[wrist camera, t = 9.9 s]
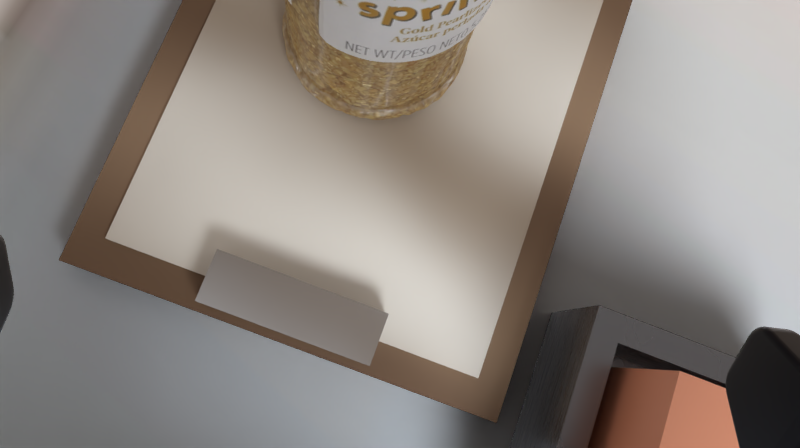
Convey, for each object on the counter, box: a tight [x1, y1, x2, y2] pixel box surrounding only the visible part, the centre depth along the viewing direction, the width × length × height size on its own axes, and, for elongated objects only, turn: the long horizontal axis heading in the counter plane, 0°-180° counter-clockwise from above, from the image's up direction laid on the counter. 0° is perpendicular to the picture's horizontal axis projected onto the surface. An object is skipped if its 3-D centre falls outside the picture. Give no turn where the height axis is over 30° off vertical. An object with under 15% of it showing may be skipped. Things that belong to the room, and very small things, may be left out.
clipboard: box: [59, 0, 632, 423], centre depth 17 cm, size 12×10×2 cm
